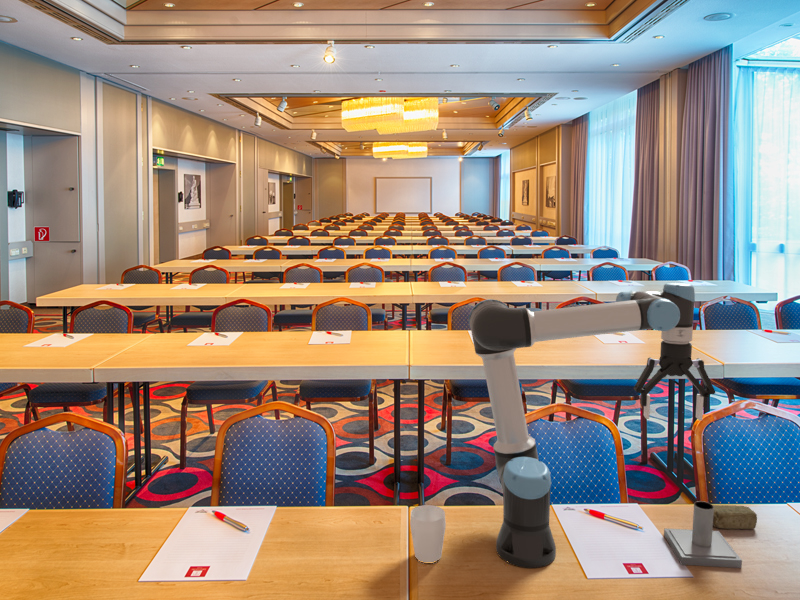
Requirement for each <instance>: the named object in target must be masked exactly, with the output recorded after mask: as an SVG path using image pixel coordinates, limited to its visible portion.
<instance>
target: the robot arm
mask: <svg viewBox="0 0 800 600" xmlns="http://www.w3.org/2000/svg"><path fill="white" fill-rule="evenodd" d="M695 293H696V292H695V286H693V284H690V283H686V282H685V283H684V282H682V283H681V282H669V283H668V282H667V283H665V284H663V288H662V290H659V291H655V290H654V291H651V290H650V291H648V290H647V291H645V290H644V291H640V290H639V291H638V290H637V291H636V290H634V291H633V290H630V291H628V290H627V291H620V292H618V294H617V296H616V298H615V301H614V302H613V301H612V302H605V303H597V304H589V305H588V304H587V305H586V304H585V305H579V306H578V305H577V306H571V307H562V308H551V309H544V310H543V309H542V310H536V311H535V310H533V311H532V310H530V309H528V308H526V307H525V308H510V307H508V305H507V304H506V303H505V302H502V301H501V300H497V299H492V298H491V299H484V300H481V301H479V302H477V303H476V304H475V305H474V306H473V308H472V309H471V311H470V313H469V316H468V326H469V329H470V332H471V337H472V341H473V342H472V343H473V347H474V351H475V355H477V356H478V357H480V358H481V359H482V364H483V369H484V375H485V380H486V385H487V391H488V396H489V400H490V401H489V403H490V406H491V411H492V417H493V422H494V423H493V424H494V428H495V433H496V438H497V440H496V441H495V442H494V443H493V447H492V448H493V451H494V452H493V453H494V456H495V467H496V471H497V474H498V477H499V481H500V485H501V489H502V493H503V509H502V510H503V512H502V513H503V514H502V515H503V516H502V517H503V520H502V524H501V526H500V530H499V531H498V534H497V537H496V542H495V543H496V544H495V547H496V548H495V551H496V550H497V551H496V553H497V552H498V554H499V555H500V556H501V557H502V558H503V559H504V560H505V561H504V560H503V559H502V558H501V557H500V556H499V555H498V554H497V555H498V556H499V557H500V558H501V559H502V560H503V561H504V562H506V561H508V562H509V563H508V562H507V563H508V564H510V563H511V564H510V565H512V564H514V565H513V566H515V565H517V566H516V567H519V566H520V567H519V568H527V569H534V568H535V569H536V568H541V567H542V568H543V567H545V566H548V565H550V564H552V563H553V562H554V561H555V559H556V555H557V554H556V553H557V547H556V546H557V545H556V543H555V539H554V536H553V533H552V530H551V527H550V526H551V525H550V511H551V509H550V508H551V506H550V505H551V487H552V478H551V472H550V469H549V467H548V466H547V464H546V463H544V462H543V461H541V460H540V461H539V454H538V449H537V443H536V440H535V438H533V437H532V436H531V435H529V430H528V426H527V425H528V424H527V420H526V415H525V414H526V413H525V409H524V403H523V398H522V392H521V391H522V390H521V387H520V381H519V377H518V370H517V365H516V360H515V359H516V358H515V354H514V353H515V351H516V350H517V349H521V348H530V347H533V345H534V344H535V343H537V342H546V341H556V340H557V341H558V340H564V339H573V338H579V337H580V338H582V337H589V336H592V337H593V336H600V335H607V334H608V335H609V334H616V333H625V332H634V331H644V330H654V331H659V332H661V334H660V336H661V337H660V338H661V340H662V341H661V342H660V357H659V359H655V358H652V357H648V358H647V361H646V365H645V367H644V369H643V371H642V372H641V374H640V376H639V378H638V380H637V381H636V383H635V384H634V386H633V390H634V391H635V392H636V393H638V394H640V405H641V406H642V407H643V417H644V419H646V420H650V412H651V411H650V409H651V395H650V392H651V391H652V390H653V389H654V388H655V387H656V386H657V385H658V383H660V382H661V380H663V379H664V378H666V377H667V376H669V377H675V376H678V377H683V376H685V377H686V378H687V379H688V381H690V383H691V384H692V386H694V387H695V388H696V390H697V391H698V392H699V393H697V394H696V401H695V402H696V406H695V418H696V419H697V420H698V421H703V413H704V411H703V410H704V409H705V408H706V407H708V406H707V405H708V404H707V403H708V398H709V397H710V395H715V394H716V390H715V388H714V386H713V384H712V381H711V379H710V378H709V376H708V373H707V371H706V369H705V361H704V360H702V359H701V358H699V357H698V358H696V359H692V349H693V344H692V341H693V330H694V329H693V328H694V312H695V303H696V300H695V299H696V298H695V297H696V295H695ZM658 365H659V367H660V368H659V369H658V370H657V371H656V373H655V374H654V375H653V376H652V377H651V378H650V376H651V374H652V373H653V371H654V368H656V367H657V366H658ZM692 366H693V367H695V368H696V370H697V372H698V374H699V376H700V378H701V380H702V382H703V384H704V386H705V388H704V387H703V385H702V384H701V383H700V382H699V381H698V380H697V379H696V377H695V376H694V375H693V374H692V373H691V371H690V369H691V367H692ZM648 379H649V380H648Z"/></svg>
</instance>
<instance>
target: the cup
mask: <svg viewBox="0 0 800 600" xmlns="http://www.w3.org/2000/svg"><path fill="white" fill-rule="evenodd" d="M409 521H410V522H409V524H410V533H411V538H412V539H411V540H412V545H413V546H412V547H413V552H414V557H416V558H417V559H418V560H420V561H423V562H434V561H437V560H439V559H440V558H441V559H442V553H443V547H444V539H445V533H446V527H447V524H446V511H445V510H444V509H443V508H442V507H440V506H438V505H433V504H423V505H419V506H415V507H414V508H413V509H412V510H411V511H410V519H409ZM416 558H415V559H416ZM441 559H440V560H441ZM440 560H439V561H440Z"/></svg>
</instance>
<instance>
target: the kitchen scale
mask: <svg viewBox="0 0 800 600" xmlns="http://www.w3.org/2000/svg"><path fill="white" fill-rule="evenodd" d="M692 531H693V529H686V528H685V529H684V528H681V529H680V528H664V529H663V537H664V538H665V539H666V541H667V543H668V545H669V547H670V548H671V549H672V551H673V552H674V554H675V557H677V559H678V561H679V563H680V564H681V566H682V565H683V566H698V567H699V566H700V567H715V568H716V567H717V568H718V567H719V568H733V569H735V568H737V569H741V568H742V566H743V565H742V564H743V559H742V558H741V557H740V556H739V554H738V553H737V552H736V551H735V550H734V549H733V547H732V546H731V544H729V542H728V541H727V539H726V538H725V537H724V536H723V534H722V533H721V532H720V530H712V544H711V546H710V547H701V546H698V545H696V544H694V543H693V542H692Z"/></svg>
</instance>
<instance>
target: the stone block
mask: <svg viewBox="0 0 800 600" xmlns="http://www.w3.org/2000/svg"><path fill="white" fill-rule="evenodd" d="M712 505H713V506H714V514H713V526H714V528H718V529H725V530H754V529H755V528H756V526H757V523H758V515H757V513H756V512H755V511H754V510H752V509H751V508H750V507H749V506H744V505H733V504H732V505H730V504H728V505H726V504H725V505H724V504H723V505H722V504H717V505H716V504H715V505H714V504H712Z"/></svg>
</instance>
